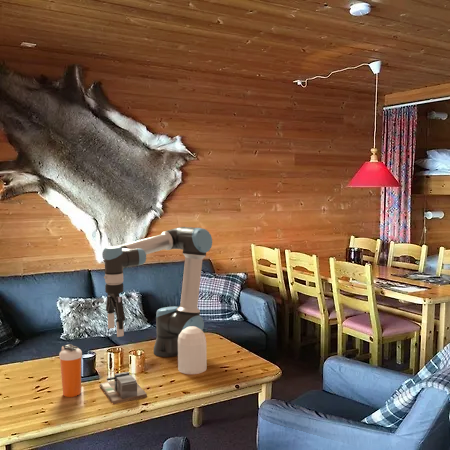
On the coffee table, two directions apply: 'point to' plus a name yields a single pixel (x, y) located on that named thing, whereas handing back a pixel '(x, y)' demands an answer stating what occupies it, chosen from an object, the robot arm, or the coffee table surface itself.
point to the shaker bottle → (71, 370)
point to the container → (192, 351)
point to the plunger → (118, 376)
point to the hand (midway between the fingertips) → (115, 332)
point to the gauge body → (123, 389)
